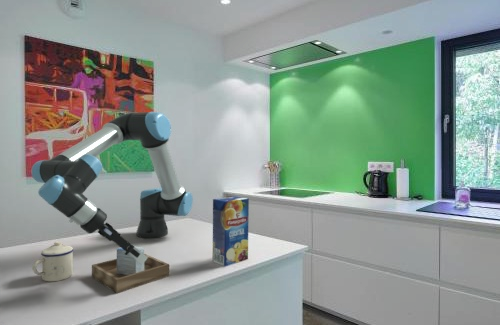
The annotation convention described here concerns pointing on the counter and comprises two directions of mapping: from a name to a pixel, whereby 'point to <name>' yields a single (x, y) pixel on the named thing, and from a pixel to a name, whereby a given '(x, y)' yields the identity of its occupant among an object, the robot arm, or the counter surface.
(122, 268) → the medicine box
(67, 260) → the teacup with lid
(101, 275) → the tray
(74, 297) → the counter surface
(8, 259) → the counter surface
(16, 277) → the counter surface
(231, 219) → the juice carton
